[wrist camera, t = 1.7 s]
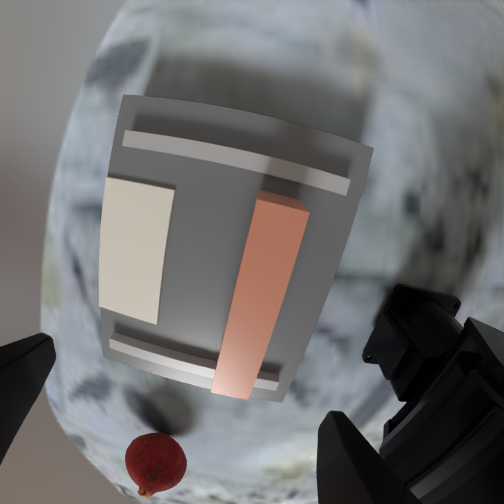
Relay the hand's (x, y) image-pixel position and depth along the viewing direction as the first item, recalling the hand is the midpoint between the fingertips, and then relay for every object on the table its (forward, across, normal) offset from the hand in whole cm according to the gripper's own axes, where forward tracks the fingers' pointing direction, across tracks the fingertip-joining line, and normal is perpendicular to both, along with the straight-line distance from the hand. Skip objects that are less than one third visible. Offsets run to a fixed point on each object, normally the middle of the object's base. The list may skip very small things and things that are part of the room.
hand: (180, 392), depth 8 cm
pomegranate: (+11, +3, +20) cm, 23 cm away
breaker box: (+11, +1, 0) cm, 11 cm away
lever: (+8, -2, 0) cm, 8 cm away
